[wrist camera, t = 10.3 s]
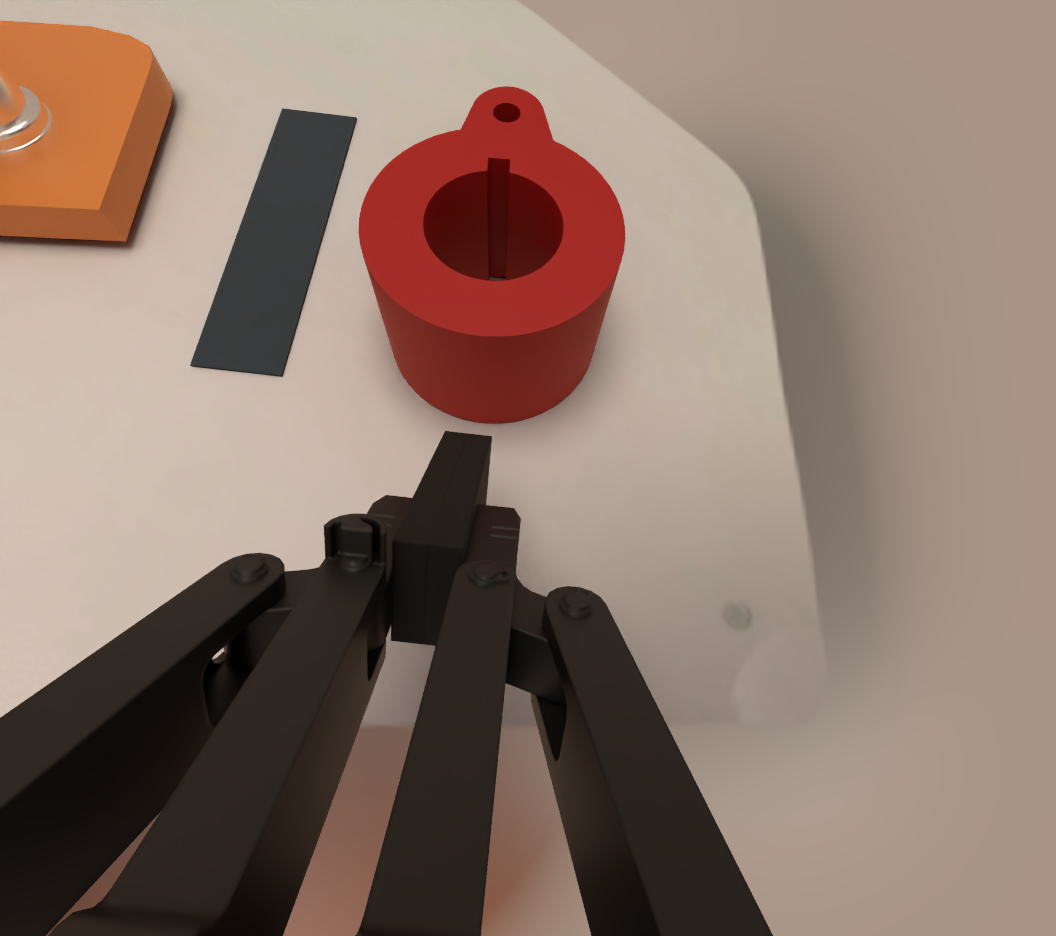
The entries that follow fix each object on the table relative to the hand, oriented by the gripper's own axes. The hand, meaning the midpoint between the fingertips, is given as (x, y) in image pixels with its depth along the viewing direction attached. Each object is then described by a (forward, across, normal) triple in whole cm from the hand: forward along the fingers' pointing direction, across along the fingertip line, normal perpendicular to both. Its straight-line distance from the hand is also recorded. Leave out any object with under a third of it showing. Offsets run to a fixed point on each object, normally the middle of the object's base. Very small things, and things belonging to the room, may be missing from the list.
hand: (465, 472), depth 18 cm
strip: (+13, -11, +6) cm, 18 cm away
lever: (+13, 0, +6) cm, 14 cm away
